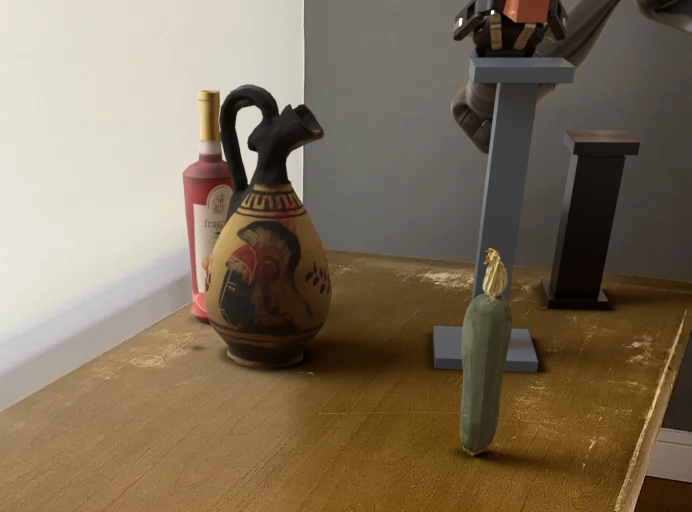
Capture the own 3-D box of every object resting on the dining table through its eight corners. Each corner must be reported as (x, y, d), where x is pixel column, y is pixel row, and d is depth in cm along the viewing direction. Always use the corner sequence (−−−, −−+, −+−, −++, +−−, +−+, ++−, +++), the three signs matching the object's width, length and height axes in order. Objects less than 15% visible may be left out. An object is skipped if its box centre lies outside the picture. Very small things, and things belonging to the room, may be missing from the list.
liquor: (201, 330, 128) (192, 96, 113) (181, 315, 134) (169, 90, 118) (250, 322, 131) (248, 92, 115) (228, 308, 136) (224, 86, 121)
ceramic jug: (348, 346, 123) (361, 82, 106) (297, 387, 111) (304, 98, 95) (231, 327, 129) (226, 76, 112) (172, 364, 118) (157, 91, 101)
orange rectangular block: (500, 11, 112) (504, -19, 110) (526, 11, 112) (530, -20, 110) (515, 22, 96) (520, -13, 94) (546, 22, 95) (551, -14, 94)
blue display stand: (432, 336, 125) (460, 56, 107) (526, 340, 124) (571, 56, 106) (434, 369, 115) (465, 67, 97) (536, 373, 114) (587, 67, 96)
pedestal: (539, 289, 142) (564, 129, 130) (595, 291, 141) (626, 130, 129) (547, 310, 134) (575, 141, 122) (606, 312, 133) (640, 142, 121)
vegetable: (496, 468, 93) (527, 257, 82) (451, 468, 93) (477, 258, 82) (487, 448, 97) (516, 244, 86) (444, 449, 97) (467, 245, 86)
